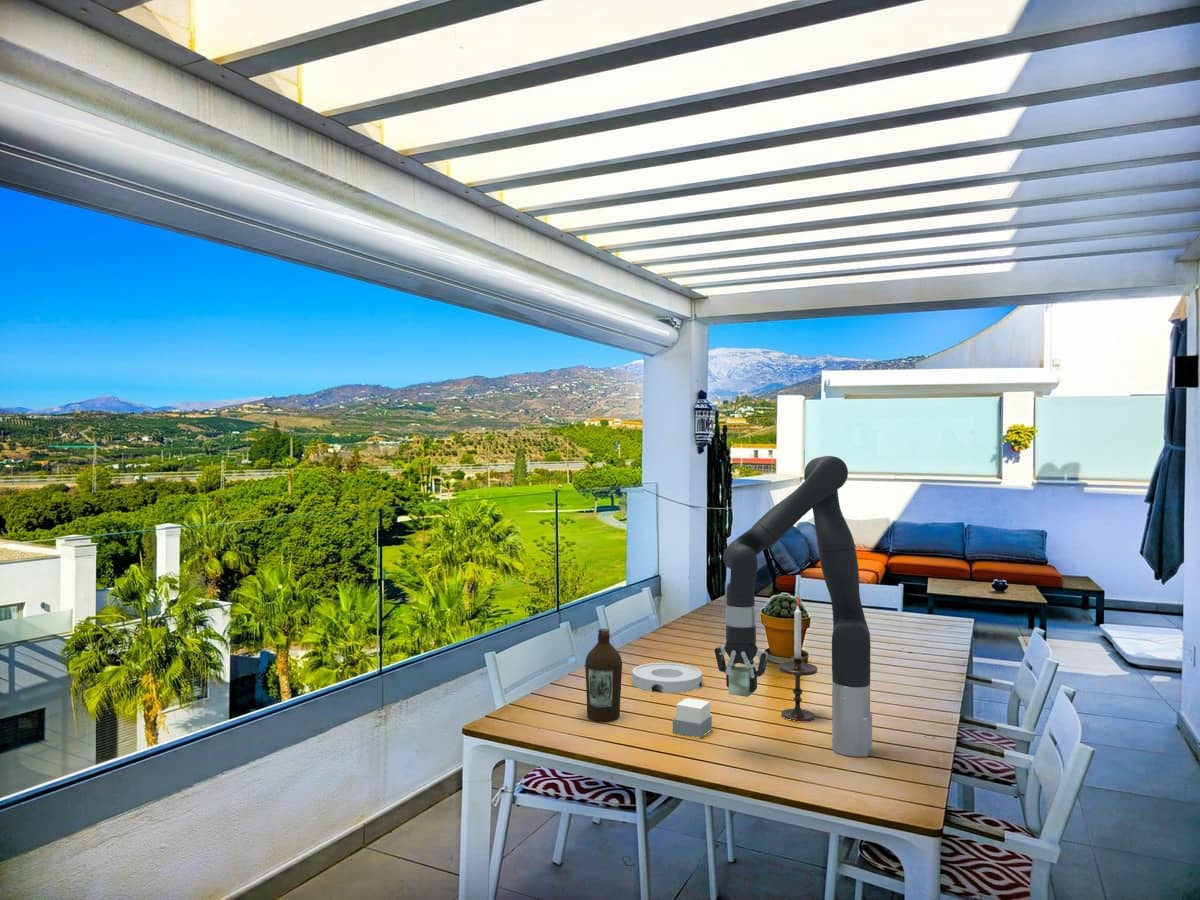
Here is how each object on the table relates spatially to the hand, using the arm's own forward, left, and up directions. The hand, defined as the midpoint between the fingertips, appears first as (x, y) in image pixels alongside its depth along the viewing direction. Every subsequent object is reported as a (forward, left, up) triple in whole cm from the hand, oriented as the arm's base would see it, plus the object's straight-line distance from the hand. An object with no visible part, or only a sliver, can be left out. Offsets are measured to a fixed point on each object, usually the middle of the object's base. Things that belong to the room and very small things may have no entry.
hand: (741, 690), depth 196 cm
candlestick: (-5, -34, -16) cm, 38 cm away
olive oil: (+43, -5, -16) cm, 46 cm away
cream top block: (+16, -7, -12) cm, 21 cm away
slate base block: (+17, -7, -16) cm, 24 cm away
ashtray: (+42, -46, -16) cm, 65 cm away
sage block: (0, 0, -1) cm, 1 cm away
